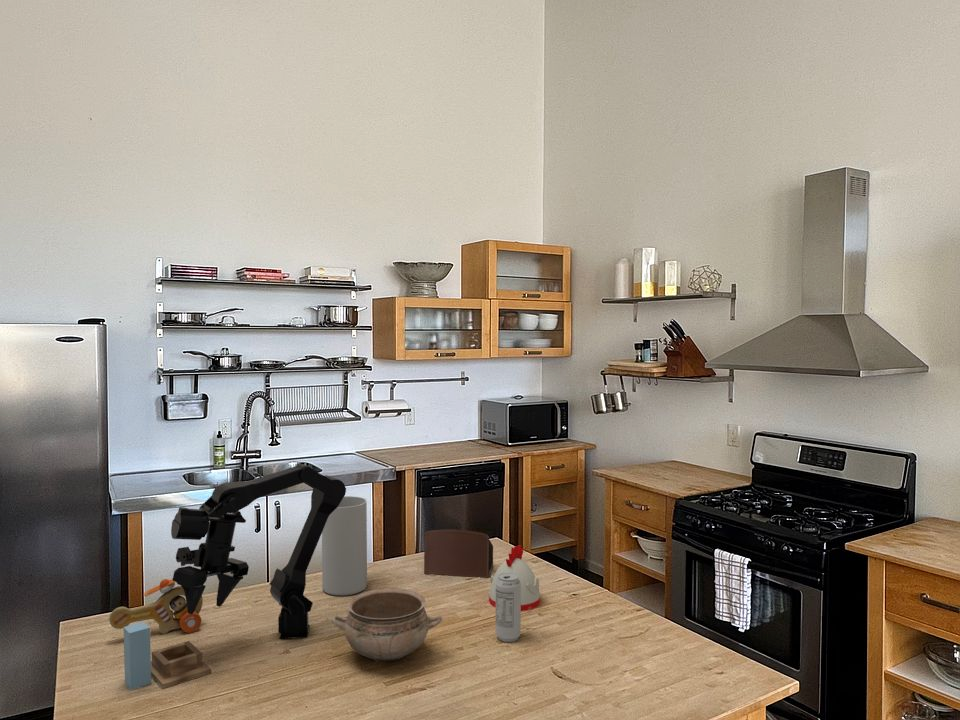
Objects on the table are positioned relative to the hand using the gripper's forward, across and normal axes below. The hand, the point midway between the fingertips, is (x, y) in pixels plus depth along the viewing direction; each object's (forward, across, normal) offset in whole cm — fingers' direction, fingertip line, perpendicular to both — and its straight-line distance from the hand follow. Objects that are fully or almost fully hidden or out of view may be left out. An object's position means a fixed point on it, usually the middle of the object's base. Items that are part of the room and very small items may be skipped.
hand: (204, 609), depth 161 cm
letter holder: (-6, -73, +32) cm, 80 cm away
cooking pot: (+4, -17, +39) cm, 42 cm away
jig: (+12, +5, 0) cm, 13 cm away
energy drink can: (-2, -35, +61) cm, 71 cm away
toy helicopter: (+12, -9, -18) cm, 23 cm away
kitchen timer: (-6, -57, +56) cm, 80 cm away
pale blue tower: (+14, +12, -4) cm, 19 cm away
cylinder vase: (+1, -49, +8) cm, 49 cm away
